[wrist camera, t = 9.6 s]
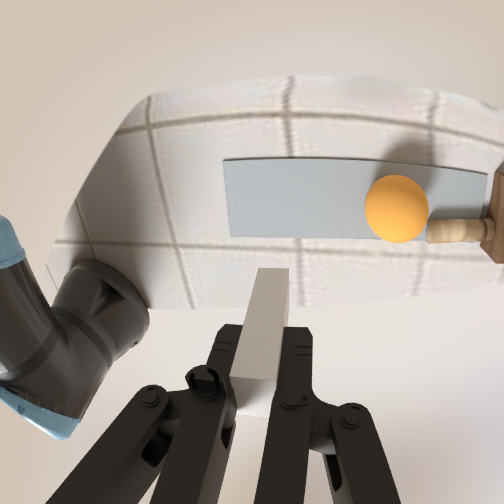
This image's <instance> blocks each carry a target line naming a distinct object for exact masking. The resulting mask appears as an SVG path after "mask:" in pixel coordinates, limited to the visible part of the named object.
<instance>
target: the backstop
mask: <svg viewBox="0 0 504 504" xmlns="http://www.w3.org/2000/svg"><path fill="white" fill-rule="evenodd" d="M487 218H490V219H492V220H493V221H494V224H495V236H494V238H493V239H492V240H484V241H481V243H480V247H481V248H482V249H483V250H484V251H485V252H486V253H487V254H488V255H489V256H490V258H491V259H492V260H493V261H494V262H495V263H504V174H502V173H497V172H495V174H494V181H493V188H492V194H491V199H490V205H489V210H488V215H487Z"/></svg>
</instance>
